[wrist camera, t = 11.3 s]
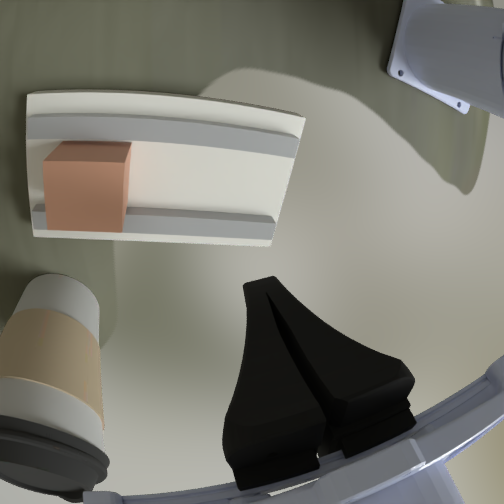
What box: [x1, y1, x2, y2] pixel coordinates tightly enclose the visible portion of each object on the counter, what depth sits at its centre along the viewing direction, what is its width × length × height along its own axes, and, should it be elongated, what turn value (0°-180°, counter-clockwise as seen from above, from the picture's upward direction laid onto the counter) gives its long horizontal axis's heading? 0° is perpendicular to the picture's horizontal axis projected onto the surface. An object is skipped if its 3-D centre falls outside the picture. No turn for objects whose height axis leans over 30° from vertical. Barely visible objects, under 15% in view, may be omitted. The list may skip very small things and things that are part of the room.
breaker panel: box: [26, 89, 306, 247], centre depth 18 cm, size 16×9×2 cm, turn 78°
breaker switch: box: [43, 141, 132, 233], centre depth 15 cm, size 4×4×4 cm
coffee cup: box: [0, 274, 110, 503], centre depth 17 cm, size 9×9×15 cm
